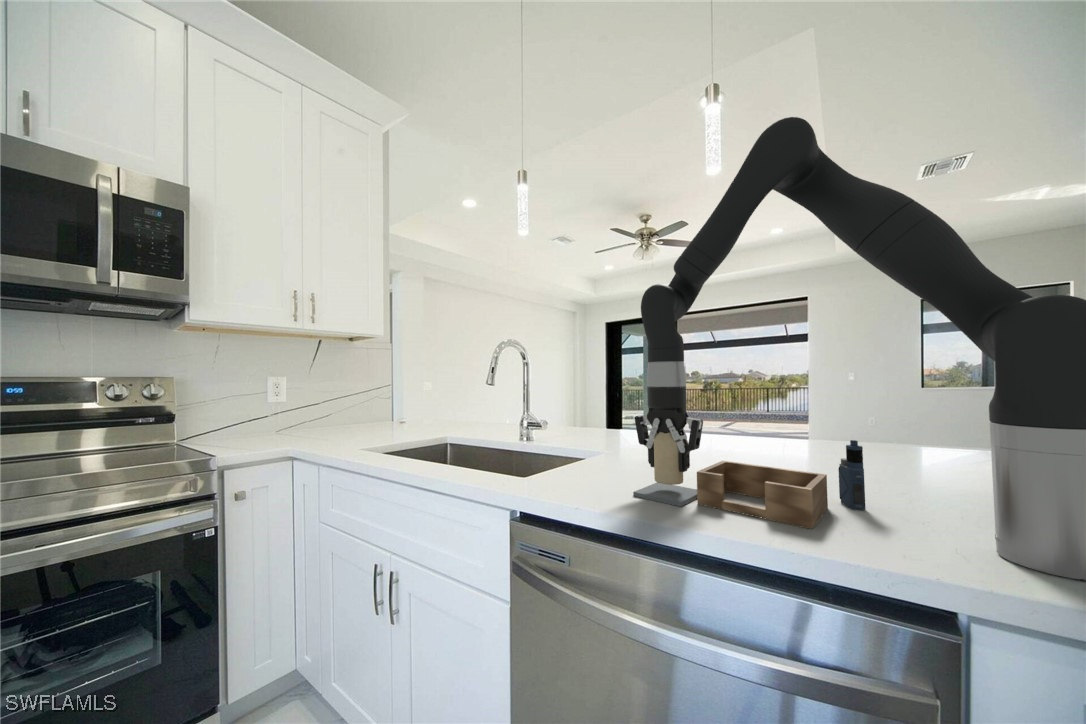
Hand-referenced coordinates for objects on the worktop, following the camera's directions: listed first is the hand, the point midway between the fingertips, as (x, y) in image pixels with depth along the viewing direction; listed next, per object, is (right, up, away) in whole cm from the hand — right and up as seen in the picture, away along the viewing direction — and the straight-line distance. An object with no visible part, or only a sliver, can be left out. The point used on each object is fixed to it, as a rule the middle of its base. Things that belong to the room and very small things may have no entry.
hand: (668, 468), depth 80 cm
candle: (0, -3, 0) cm, 3 cm away
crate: (+15, -5, -7) cm, 17 cm away
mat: (0, -5, 0) cm, 5 cm away
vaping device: (+31, -5, -8) cm, 32 cm away
